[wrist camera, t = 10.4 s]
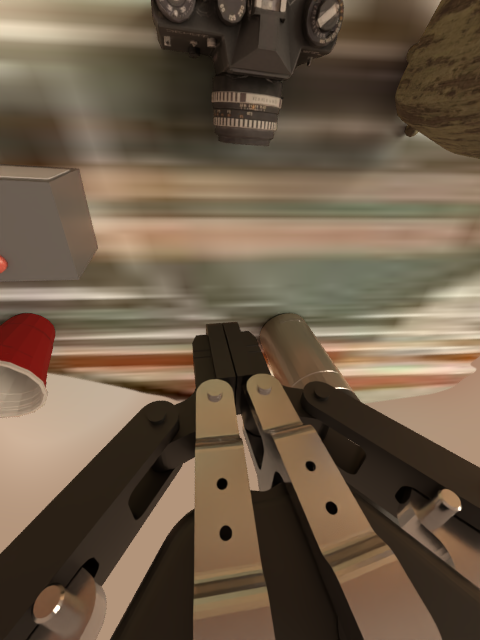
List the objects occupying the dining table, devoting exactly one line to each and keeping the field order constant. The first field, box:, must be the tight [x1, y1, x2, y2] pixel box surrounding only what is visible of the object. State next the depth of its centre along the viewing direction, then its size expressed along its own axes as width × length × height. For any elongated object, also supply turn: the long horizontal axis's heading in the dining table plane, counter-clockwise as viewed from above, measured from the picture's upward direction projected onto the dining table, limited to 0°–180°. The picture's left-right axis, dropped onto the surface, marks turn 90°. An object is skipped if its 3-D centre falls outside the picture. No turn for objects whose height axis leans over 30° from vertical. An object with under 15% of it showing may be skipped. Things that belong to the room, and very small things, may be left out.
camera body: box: [0, 164, 98, 281], centre depth 27 cm, size 9×13×10 cm
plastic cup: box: [0, 313, 55, 418], centre depth 34 cm, size 11×11×12 cm
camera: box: [151, 0, 344, 146], centre depth 24 cm, size 14×11×10 cm
